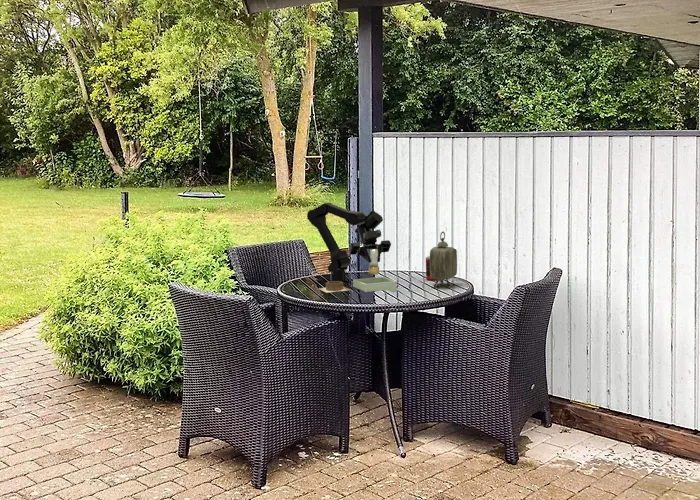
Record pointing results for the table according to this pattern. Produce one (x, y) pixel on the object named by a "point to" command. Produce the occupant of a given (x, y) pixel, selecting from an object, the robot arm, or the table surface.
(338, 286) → the socket block
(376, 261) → the spice shaker
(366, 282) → the bin
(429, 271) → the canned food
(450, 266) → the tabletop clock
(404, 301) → the table surface
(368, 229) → the robot arm
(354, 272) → the table surface
